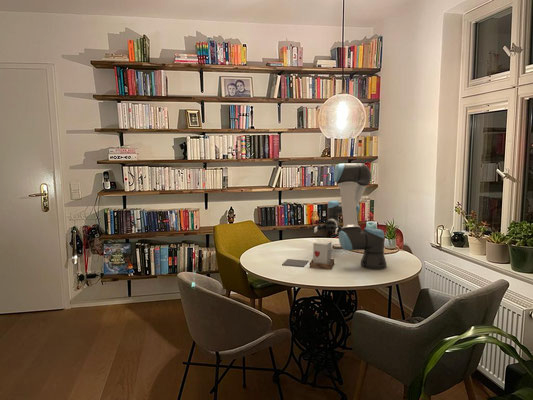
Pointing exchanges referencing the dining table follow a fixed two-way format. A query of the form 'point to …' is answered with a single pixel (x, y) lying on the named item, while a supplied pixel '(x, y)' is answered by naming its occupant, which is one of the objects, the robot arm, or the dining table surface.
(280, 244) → the dining table surface
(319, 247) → the supplement box
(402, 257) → the dining table surface
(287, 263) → the charcoal mat
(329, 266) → the walnut holder
